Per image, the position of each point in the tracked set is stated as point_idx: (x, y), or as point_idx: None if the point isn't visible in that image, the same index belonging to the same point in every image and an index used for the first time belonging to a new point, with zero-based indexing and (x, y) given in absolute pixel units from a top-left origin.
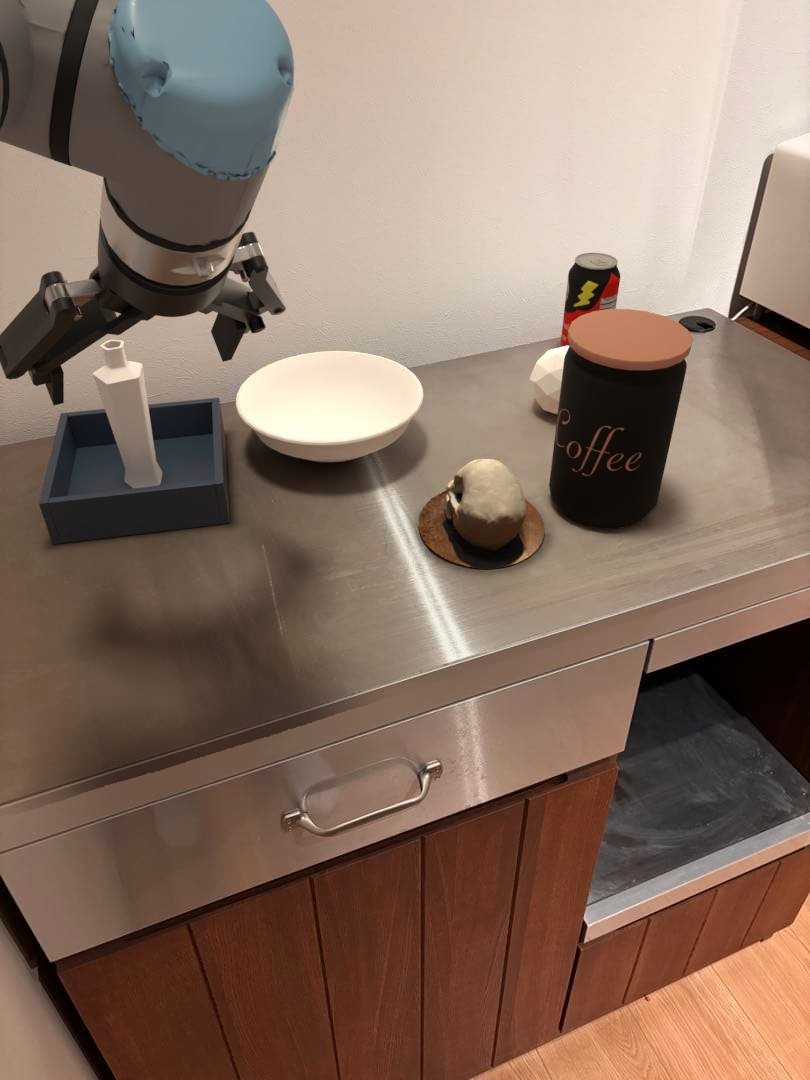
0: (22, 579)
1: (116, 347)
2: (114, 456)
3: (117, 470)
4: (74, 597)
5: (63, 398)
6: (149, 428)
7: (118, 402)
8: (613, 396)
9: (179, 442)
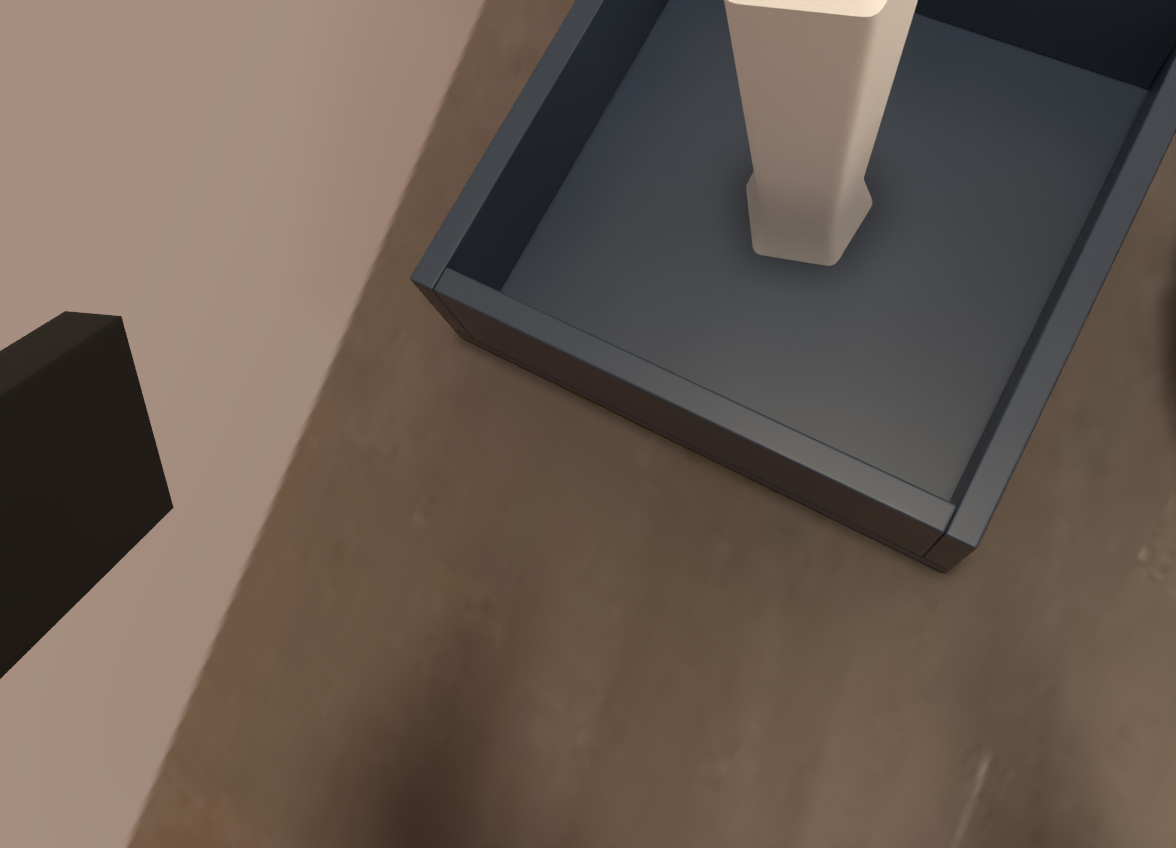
0: (337, 432)
1: None
2: None
3: None
4: (405, 596)
5: (120, 558)
6: (865, 132)
7: (757, 65)
8: None
9: (1001, 74)
